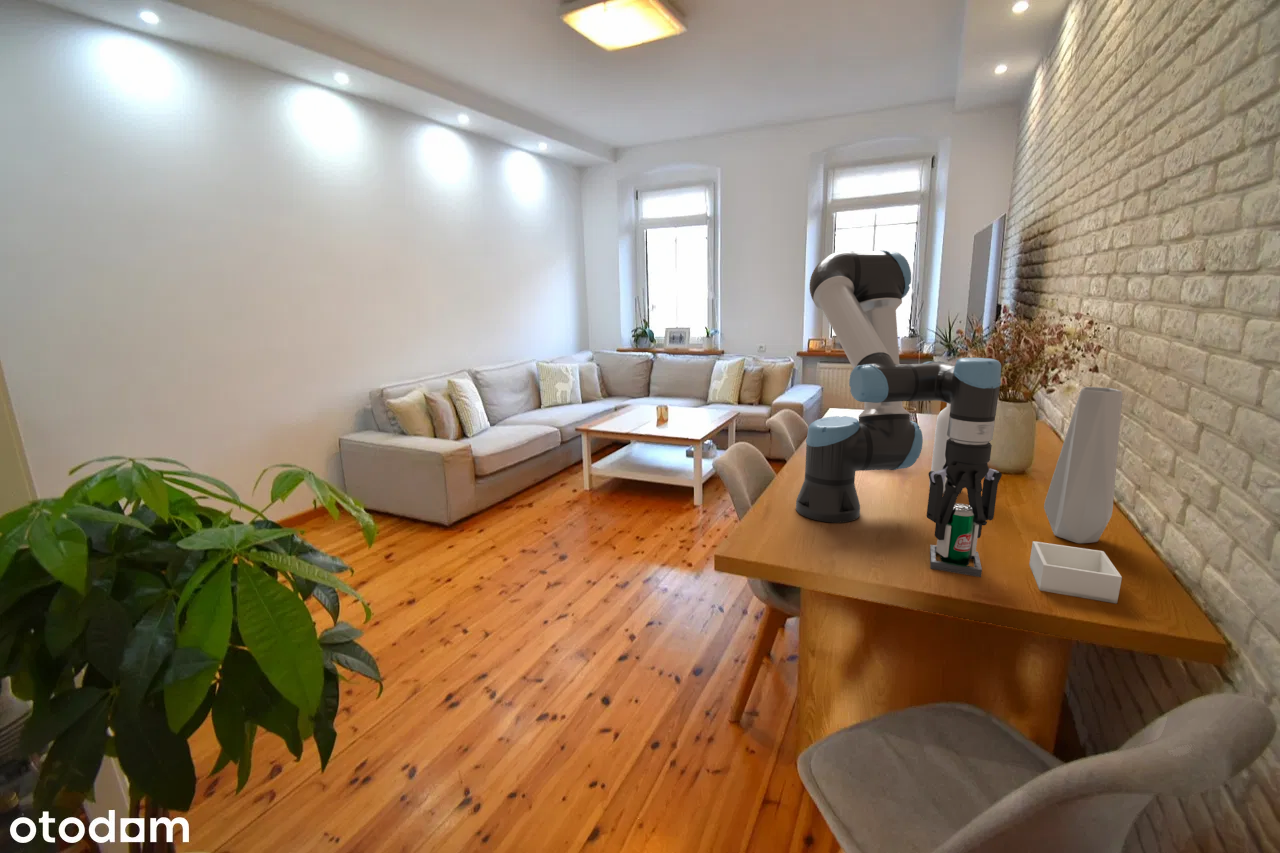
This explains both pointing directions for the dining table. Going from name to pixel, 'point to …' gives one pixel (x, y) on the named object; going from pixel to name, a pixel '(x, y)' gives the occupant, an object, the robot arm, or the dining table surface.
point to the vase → (1086, 468)
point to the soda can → (960, 534)
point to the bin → (1075, 572)
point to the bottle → (940, 441)
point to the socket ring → (955, 567)
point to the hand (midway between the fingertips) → (955, 553)
